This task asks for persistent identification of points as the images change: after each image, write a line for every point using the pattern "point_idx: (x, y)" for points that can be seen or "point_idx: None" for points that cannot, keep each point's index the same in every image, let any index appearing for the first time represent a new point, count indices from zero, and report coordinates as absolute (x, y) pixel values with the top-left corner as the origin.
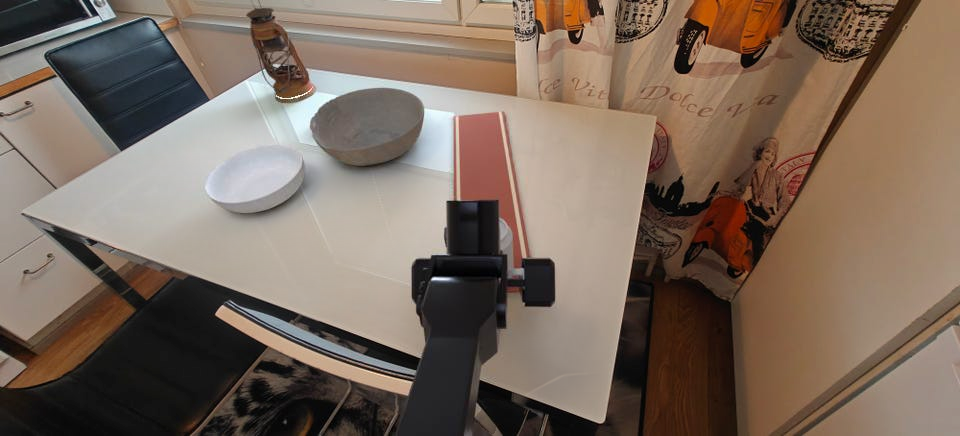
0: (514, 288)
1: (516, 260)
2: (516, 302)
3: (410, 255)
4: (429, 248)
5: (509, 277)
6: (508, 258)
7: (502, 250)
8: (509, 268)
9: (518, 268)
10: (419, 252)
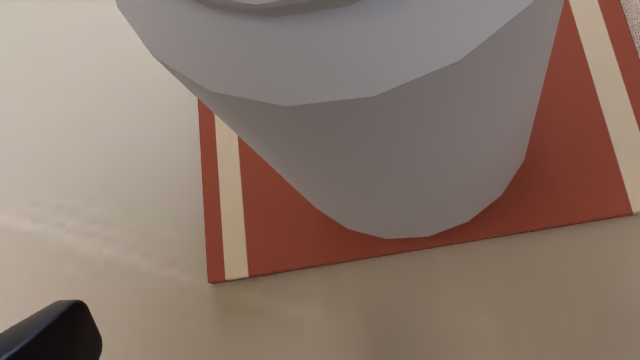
0: (544, 209)
1: None
2: (567, 302)
3: (5, 59)
4: (83, 9)
5: (516, 162)
6: (535, 75)
7: (497, 37)
8: (526, 125)
9: (551, 67)
10: (42, 37)
